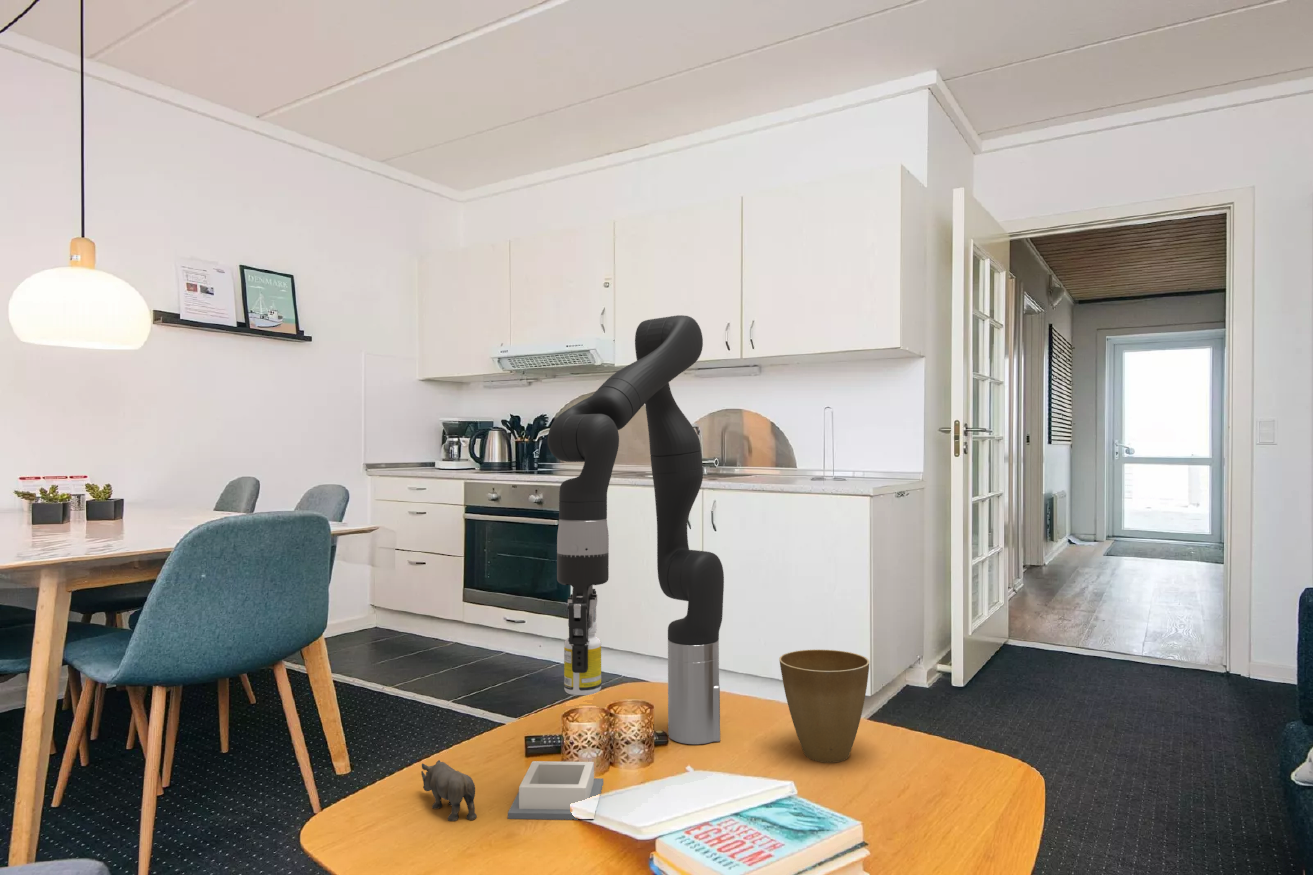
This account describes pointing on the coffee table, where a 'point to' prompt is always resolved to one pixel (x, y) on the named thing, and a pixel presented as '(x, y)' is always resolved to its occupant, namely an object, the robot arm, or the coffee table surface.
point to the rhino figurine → (450, 788)
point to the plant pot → (825, 699)
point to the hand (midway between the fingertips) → (582, 666)
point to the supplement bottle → (591, 678)
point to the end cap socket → (554, 790)
